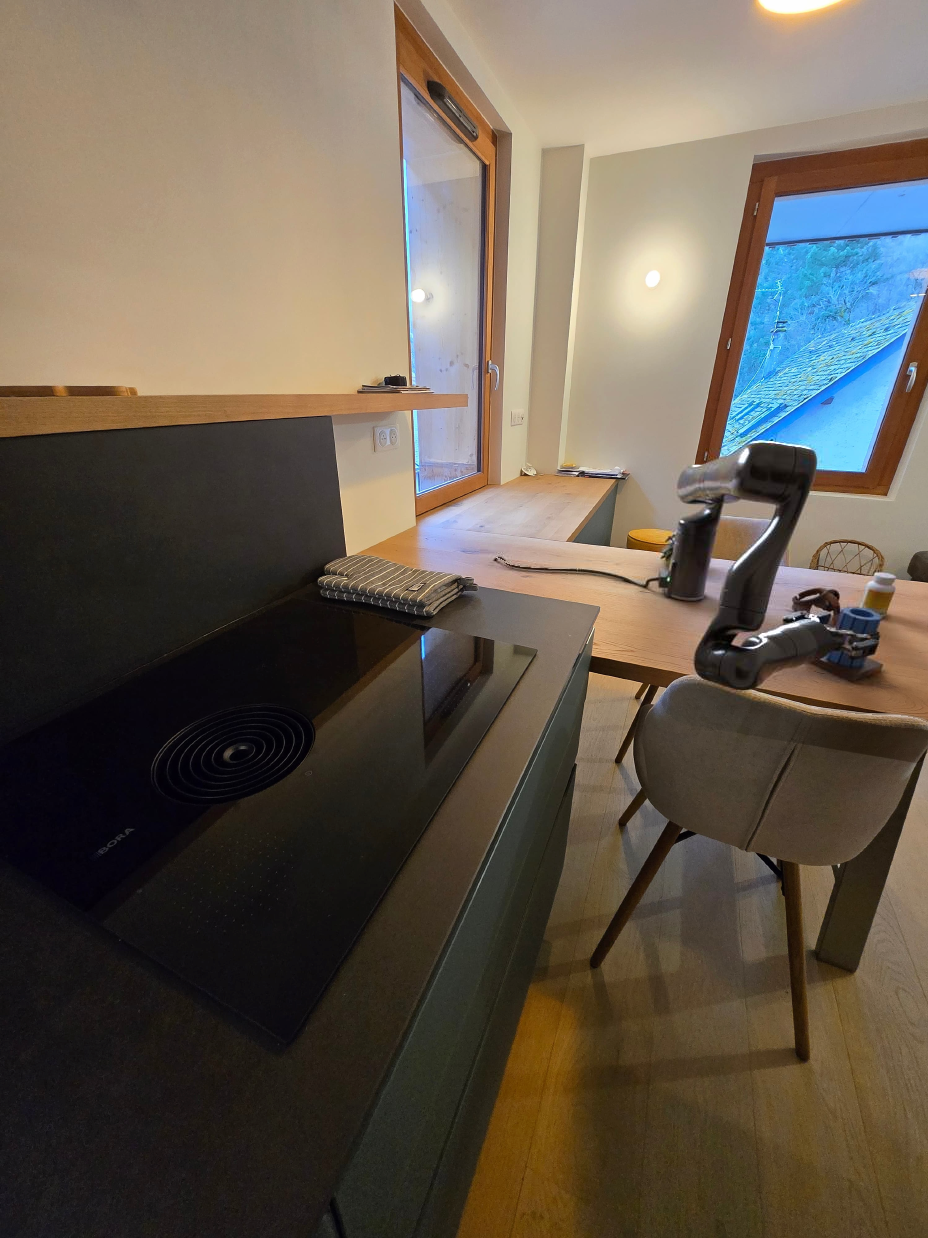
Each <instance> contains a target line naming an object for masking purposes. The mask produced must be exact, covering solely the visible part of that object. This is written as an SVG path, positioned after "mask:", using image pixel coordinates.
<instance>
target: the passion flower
mask: <svg viewBox="0 0 928 1238" xmlns="http://www.w3.org/2000/svg"><path fill="white" fill-rule="evenodd" d="M675 536H676V533H673V534H672V535H668V536H667V538H666V539H664V543H667V545H665V546H664V547H662V550H661V554H662V555H661V556H660V558H659V559H660V560H662V559H664V560H665V561H666V564H665V566H666V568H667V569H668V570H669V565H670V559H671V556H672V554H673V548H674V542H675V540H673V539H675ZM669 541H671V542H669ZM668 542H669V543H668Z"/></svg>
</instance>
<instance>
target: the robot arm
mask: <svg viewBox="0 0 928 1238" xmlns="http://www.w3.org/2000/svg"><path fill="white" fill-rule="evenodd" d="M817 468H818V455H817V453H816V451H815V450H814V449H812V448H811V447H807V446H803V445H797V444H789V443H782V442H775V441H766V440H757V441H752V442H749V443H747V444H745V445H743V446H742V447H740V448H738V449H737V450H736V451H735V452H734V453H731V454H728V455H724V456H721V457H718V458H716V459H713V460H711V461H709V462H706V463H703V464H691V465H687V466H686V467H685V468H684V469H683V470H682V471H681V472H680V475H679V477H678V479H677V482H676V494H677V497H678V500H679V501H680V502H681V503H683V504H685V505H686V504H687V505H699V506H703V505H704V507H703V508H702V509H700V510H699V511H696V512H694V513H692V514H688V515H684V516H682V517H681V518H679V520H678V521H677V524H676V525H677V526H676V531H675V534H676V536H675V537H674V541H675V542H674V548H673V554H672V556H671V559H670V565H669V569H668V570H663V569H659V570H658V577H657V576H656V577H650V578H648V579H647V580H645V583H644V584H640V583H639V582H635V581H633V580H632V579H629V578H627V577H625V576H622V575H619V574H616V573H611V572H606V571H602V570H595V569H588V568H587V569H586V568H570V569H548V568H549V567H540V568H531V567H532V566H526V567H520V566H521V565H518V566H515V565H516V564H513V565H510V564H507V563H505V562H503V563H504V564H505V565H506V566H508V567H510V568H513V569H518V570H529V571H541V572H543V571H545V572H570V573H571V572H573V573H574V572H575V573H589V574H595V575H602V576H606V577H611V578H614V579H619V580H622V581H624V582H626V583H629V584H632V585H635V586H638V587H641V588H648V587H649V586H650V583H652V582H657V587H658V588H657V589H665V597H667V598H673V599H676V600H679V601H686V602H696V601H701V600H702V599H704V596H705V591H706V586H707V582H708V581H707V580H708V576H709V571H710V566H711V563H712V558H713V557H712V556H713V552H714V546H715V543H716V539H717V534H718V528H719V526H720V525H719V524H720V522H721V517H722V513H723V509H724V505H725V504H735V503H736V502H737V503H738V502H740V501H747V502H755V503H762V504H766V505H772V506H773V505H774V506H775V508H774V512H773V515H772V518H771V520H770V521H769V524H768V526H767V527H766V528H765V530H764V532H763V533H762V534H761V535H760V536H759V537H758V538H757V540H755V542H753V544H751V545H750V547H748V548H747V549H746V550H745V551H744V552H743V553H742V554H741V555H740V556H739V557H738V558H737V559H736V560H735V561H734V562H733V564H732V565H731V567H730V568H729V569H728V571H727V573H726V575H725V577H724V580H723V583H722V585H721V589H720V593H719V599H718V603H717V606H716V611H715V614H714V616H713V618H712V619H711V621H710V623H709V625H708V627H707V628H706V630H705V631H704V634H703V635H702V637H701V639H700V641H699V643H698V644H697V647H696V648H695V651H694V654H693V667H694V671H695V673H696V675H697V676H698V677H699V678H701V679H702V680H704V681H707V682H710V683H713V684H717V685H720V686H722V687H725V688H729V689H731V690H735V691H740V692H741V691H745V692H746V691H751V690H754V689H757V688H759V686H761V685H762V684H763V683H764V682H765V681H767V679H769V678H770V677H771V676H772V675H773V674H775V673H778V672H781V671H783V670H787V669H793V668H798V667H800V666H805V665H806V664H809V663H810V662H812V661H815V660H818V659H821V658H823V657H825V656H826V655H828V654H829V653H830V652H832V651H841V650H842V651H844V652H846V653H848V654H849V655H848V658H849V659H851V660H857V659H860V658H864V657H867V658H869V657H871V656H875V654H876V652H877V649H878V647H879V645H880V638H881V636H882V635H881V632H880V631H878V630H877V631H876V630H874V631H871V632H868V633H865V634H855V633H854V632H853V631H847V630H836V629H835V627H831V626H828V625H829V623H830V621H831V619H832V613H831V612H824V613H818V614H812V613H811V614H810V613H809V615H808V614H807V615H806V611H796V612H793V613H790V614H787V615H784V616H783V617H782V620H781V623H780V625H779V626H776V627H773V628H771V629H769V630H767V631H763V632H759V631H760V630H761V629H762V628H763V625H764V622H765V619H766V614H767V611H768V607H769V603H770V599H771V594H772V590H773V586H774V583H775V580H776V577H777V574H778V570H779V568H780V565H781V563H782V560H783V558H784V556H785V554H786V551H787V548H788V546H789V544H790V541H791V539H792V537H793V535H794V533H795V530H796V527H797V526H798V522H799V520H800V518H801V515H802V513H803V511H804V508H805V505H806V503H807V500H808V498H809V495H810V493H811V491H812V488H813V484H814V482H815V478H816V473H817ZM497 557H498V558H500V559H497V558H496V557H495V558H493V561H495V562H496V561H498V560H501V559H502V560H504V561H507V560H506V559H505V558H504V557H503V556H497ZM502 560H501V561H502ZM577 569H578V570H577ZM757 632H759V633H757ZM742 633H757V634H753V635H751V636H749V637H747V638H745V639H744V640H743V641H742V642H741V643H740V645H737V644H733V643H734V641H735V640H736V638H737V637H738V635H739V634H742ZM844 636H847V639H846V642H845V640H844ZM856 639H860V642H859V643H856V642H854V641H855V640H856Z"/></svg>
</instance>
